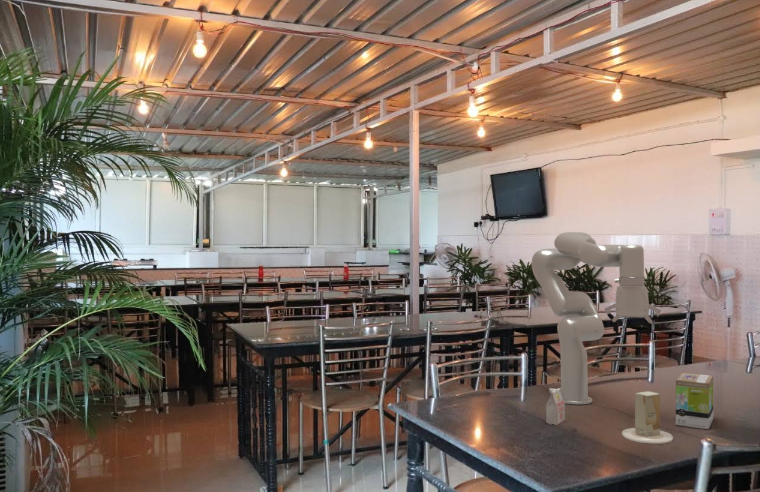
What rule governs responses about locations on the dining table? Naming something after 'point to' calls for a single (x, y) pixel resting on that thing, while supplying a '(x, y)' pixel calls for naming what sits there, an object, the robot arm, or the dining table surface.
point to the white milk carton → (555, 409)
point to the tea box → (694, 400)
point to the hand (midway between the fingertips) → (632, 334)
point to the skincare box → (647, 413)
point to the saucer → (654, 439)
